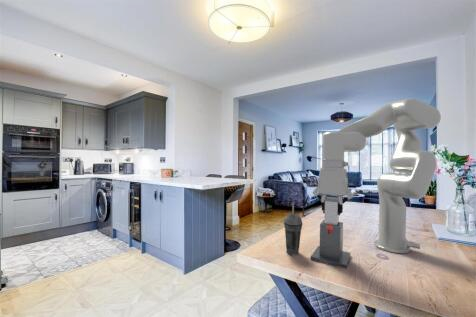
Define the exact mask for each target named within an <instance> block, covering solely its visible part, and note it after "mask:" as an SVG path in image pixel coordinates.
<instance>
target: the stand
mask: <svg viewBox="0 0 476 317" xmlns="http://www.w3.org/2000/svg"><path fill="white" fill-rule="evenodd" d="M324 221H325V219H323V220H322V221H321V222H320V224H319V245H318V246H317V247H316V248H315V249H314V251H313V252H312V254H311V256H310V260H311V261H314V262H318V263H322V264H326V265H330V266H335V267H338V268H343V269H348V266H349V262H350V259H351V252H350V251H349V252H348V251H344V250H343V247H344V246H343V245H344V243H343V242H344V222H341V221H339V225H338V226H334V225H328V224H324Z"/></svg>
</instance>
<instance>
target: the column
mask: <svg viewBox="0 0 476 317" xmlns="http://www.w3.org/2000/svg"><path fill="white" fill-rule="evenodd" d="M338 204H339V199H338V197H336V196H335V197H334V196H327V197H326V198H325V213H324V220H325V221H324V224H328V225H334V226H338V225H339V222H340V215H338Z"/></svg>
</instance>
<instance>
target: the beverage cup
mask: <svg viewBox="0 0 476 317" xmlns="http://www.w3.org/2000/svg"><path fill="white" fill-rule="evenodd" d="M291 204H292V206H291V207H292V212H290V213H287V215H285V217H284V220H283V227H284V232H285V233H284V234H285V236H284V237H285V248H286V253H287V254H288V255H290V256H291V255H293V256H297V255H299V250H300V244H301V243H300V242H301V235H302V229H303V219H302V218H301V215H299V214H298V213H296V212H295V202H292V203H291Z"/></svg>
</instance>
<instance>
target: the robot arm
mask: <svg viewBox="0 0 476 317" xmlns="http://www.w3.org/2000/svg"><path fill="white" fill-rule="evenodd" d="M440 122H441V112H440V110H439V109H437V107H435V106H433V105H431V104H428V103H426V102H424V101H421V100H420V99H416V98H411V97H410V98H404V99H401V100H396V101H390V102H388V103H387V102H386V103H385V104H384V105H382V106H381V107H379V108H377V109H376V110H375V111H373V112H371V113H370V114H369V115H367V116H365V117H363V118H361V119H358V120H357V121H355V122H352V123H351V124H347V125H346V126H344V127H342V128H341V129H339V130H337V131H326V132H324V133H323V134H322V164H321V165H322V166H321V167H320V169H319V174H318V181H317V186H316V187H315V189H314V190H313V191H312V194H313V195H314V196H316V198H317V199H318V200H319V201H320V202H321V211H323V212H322V213H323V214H325V198H326V197H328V196H331V197H334V196H335V197H337V198H338V199H339V204H338V215H339V216H341V214H343V212H344V211H343V208H344V207H343V206H344V204H345V203H346V202H348V201H349V200H351V199H353V198H354V193H352V191H351V190H350V188H349V181H348V171H347V168H345V167H348V166H349V162H347V161H345V153H356V152H360V151H362V150H364V149H365V148H366V146H367V143H368V142H367V141H368V140H367V138H372V137H374V136H377V135H380V134H382V133H383V132H385V131H386V130H387V129H388V128H390V127H392V126H393V128H394V130H395V133H396V136H397V141H396V142H397V144H396V146H395V148H394V150H393V153H392V155H391V158H390V161H389V169H391V170H392V171H393V172H385V173H382V174H380V175H379V177H378V178H377V180H376V187H377V191H378V192H377V193H378V198H379V199H378V200H379V205H378V206H379V207H378V239H375V240H374V242H373V244H374V246H375V247H376V248H378V249H381V250H383V251H385V252H389V253H395V254H408V253H410V252H411V248H413V249H418V250H421V244H420V243H416V241H410V240H408V239H407V236H406V235H407V234H406V233H407V206H406V205H407V204H406V203H405V200H404V199H403V198H405V199H411V200H420V199H423V198H424V197H425V196H426V195H427V192H428V191H429V188H430V185H431V184H432V180H433V177H434V174H435V172H436V170H437V157H436V156H435V154H434V153H433V152H431V151H429V150H423V149H421V148H422V140H421V138H420V137H419V135H418V134H417V133H416V131H415V130H426V129H432V128H435V127H436V126H438V125H439V124H440Z"/></svg>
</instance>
